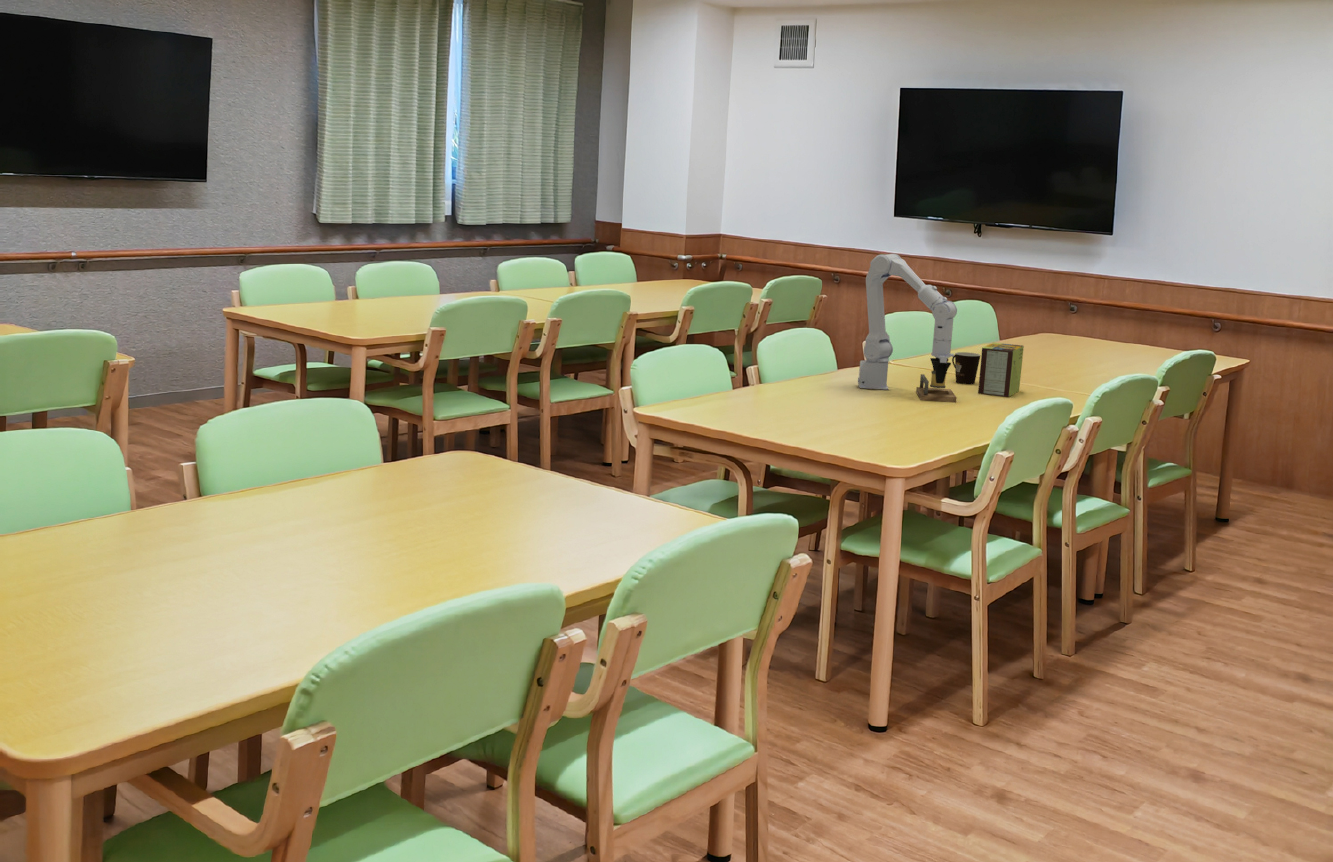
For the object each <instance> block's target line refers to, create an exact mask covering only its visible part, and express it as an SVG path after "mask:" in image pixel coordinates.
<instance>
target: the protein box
mask: <svg viewBox="0 0 1333 862" xmlns="http://www.w3.org/2000/svg"><path fill="white" fill-rule="evenodd" d="M1024 347H1025V346H1024V345H1019V344H1011V343H1000V342H992V343H989V344H987V345H984V346H983V347H982V348H981V354H980V355H981V356H980V369H979V379H978V389H977V390H978V392H977V394H978V393H981V395H987V396H997V397H1004V398H1010V397H1011V396H1012V395H1014V394H1016V393H1018V392H1019V391H1020V386H1021V376H1022V368H1023V367H1022V366H1023V357H1024Z"/></svg>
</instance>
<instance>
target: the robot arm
mask: <svg viewBox="0 0 1333 862" xmlns="http://www.w3.org/2000/svg"><path fill="white" fill-rule="evenodd" d="M869 264H870V267H869V269H868V272H867V273H866V277H865V287H866V288H865V289H866V291H865V292H866V293H865V294H866V304H867V319H868V320H867V321H868V334H867V336H866V337H865V344H864V348H863V355H864V358H865V360H860V361H859V372H858V377H857V384H858V388H859V389H869V390H870V389H871V390H885V391H887V390H889V386H888V384H887V383H888V373H889V359H890V357H891V356H892V354H893V351H894V347H893V345H892V342H891V339H890V335H889V333H888V332H887V331H886V316H885V315H886V314H885V302H884V301H885V300H884V283H885V281H887V280H888V279H889V278H890V277H891V276H896V277H900V278H901V279H902V280H904V281H905V282H906V284H908V285H909V286H910V287H911V288H913V289H914V290H915V291H916V292H917V298H918V299H919V300H920V301H921V302H922V303H923V304H924V305H925V306H926V308H928V309H929V310H930V311H931V313H932V316H933V318H934V327H933V339H932V350H931V355H930V356H932V357H930V362H931V365H932V371H935V375H936V383H942V384H943V382H944V379H945V376H946V377H947V374H948V373H947V372H948V370H949V368H950V366H951V365H952V362H949V358H951V357H952V358H953V357H954V355H955V353H951V351H952V349H951V348H952V339H953V331H954V330H953V329H954V327H953V326H954V318H955V317H956V315H957V313H958V308H957V305H956V304H955V303H954V302H953V301H951V300H948V298H947V297H946V296H944V295H942V294H941V293H940V292H939V291H938V288H937V286H935V285H932V284H926V283H924V282H923V280H922V279H921V278H920V277H919V276H918V275H917V274H916V273H915V272H914V270H913V269H912V268H911V267H910V266H909V264H907V262H906V260H905V259H903V258H901V256H900V255H899V254H896V253H889V254H888V253H887V254H883V253H882V254H878V255H876V256H875V257H874V258H872V260H871V261H870V263H869ZM946 373H947V374H946ZM945 380H946V379H945Z"/></svg>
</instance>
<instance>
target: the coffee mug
mask: <svg viewBox="0 0 1333 862" xmlns="http://www.w3.org/2000/svg"><path fill="white" fill-rule="evenodd" d="M981 355H982V354H979V353H974V352H967V351H966V352H965V351H962V352H961V351H960V352H958V351H957V352H954V357H952V358H951V361H952V362H951V364H952V365H953V368H954V369H955V371H954V372H955V373H954V374H955V383H956V384H960V385H974V384H976V383H975V382H976V379H977V373H978V369H979V364H980V361H981Z"/></svg>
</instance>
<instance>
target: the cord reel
mask: <svg viewBox="0 0 1333 862" xmlns="http://www.w3.org/2000/svg"><path fill="white" fill-rule="evenodd" d="M947 374H948V373H946V376H945V379H944V382H943V384H942V383H936V375H935V371H933V370H931V379H930V381H931V382H930V384H929V385H930V386H929V388H941V389H946V380H947V379H946V378H947Z"/></svg>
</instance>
